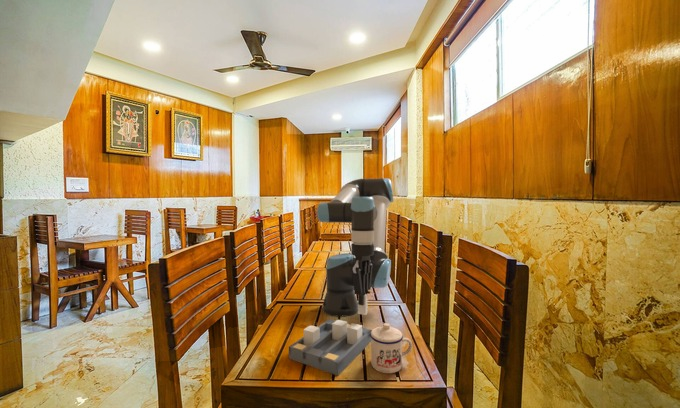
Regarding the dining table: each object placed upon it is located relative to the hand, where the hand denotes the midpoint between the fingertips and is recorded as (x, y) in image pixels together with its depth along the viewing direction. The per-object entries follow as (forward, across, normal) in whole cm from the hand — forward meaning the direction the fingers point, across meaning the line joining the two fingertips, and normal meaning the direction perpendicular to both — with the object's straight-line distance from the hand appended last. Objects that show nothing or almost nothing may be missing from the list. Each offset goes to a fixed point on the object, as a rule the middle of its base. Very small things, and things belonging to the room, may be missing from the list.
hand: (362, 313), depth 97 cm
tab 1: (+7, +14, -11) cm, 19 cm away
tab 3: (+7, +6, 0) cm, 9 cm away
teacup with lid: (+9, +9, +13) cm, 19 cm away
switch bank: (+9, +10, -6) cm, 15 cm away
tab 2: (+7, +6, -6) cm, 11 cm away
